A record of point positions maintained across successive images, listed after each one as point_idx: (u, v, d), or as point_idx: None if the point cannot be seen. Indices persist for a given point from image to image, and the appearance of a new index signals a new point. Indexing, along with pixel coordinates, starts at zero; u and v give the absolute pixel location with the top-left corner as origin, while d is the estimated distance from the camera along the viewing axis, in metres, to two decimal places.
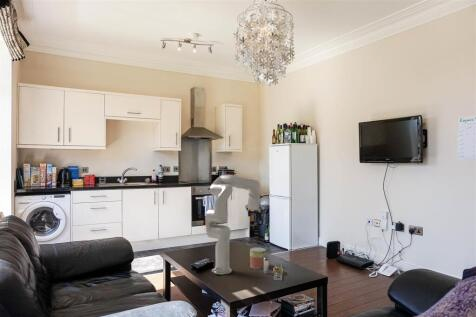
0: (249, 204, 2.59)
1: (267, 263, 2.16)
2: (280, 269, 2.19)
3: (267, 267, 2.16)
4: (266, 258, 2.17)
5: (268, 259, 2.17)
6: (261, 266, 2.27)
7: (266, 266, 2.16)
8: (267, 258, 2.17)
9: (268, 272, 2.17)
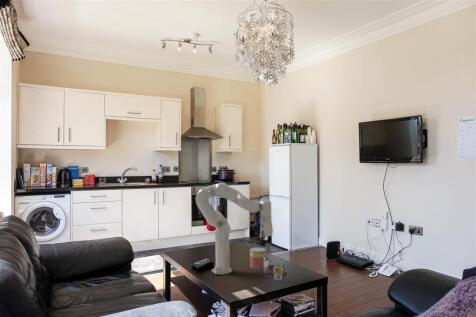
0: (267, 230, 2.14)
1: (267, 263, 2.16)
2: (280, 269, 2.19)
3: (267, 267, 2.16)
4: (266, 258, 2.17)
5: (268, 259, 2.17)
6: (261, 266, 2.27)
7: (266, 266, 2.16)
8: (267, 258, 2.17)
9: (268, 272, 2.17)
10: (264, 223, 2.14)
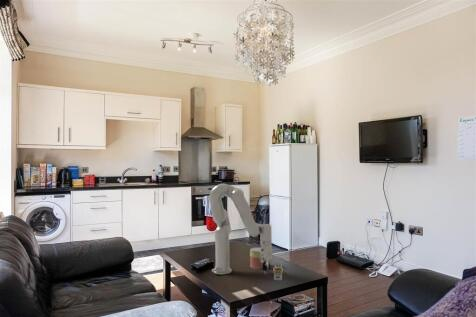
0: (267, 254, 2.13)
1: (267, 263, 2.16)
2: (280, 269, 2.19)
3: (267, 267, 2.16)
4: None
5: None
6: (261, 266, 2.27)
7: None
8: None
9: (268, 272, 2.17)
10: (264, 247, 2.13)
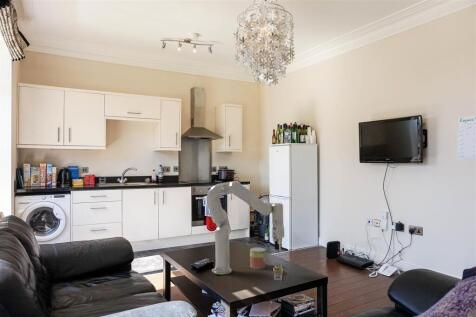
0: (279, 233, 2.13)
1: (279, 242, 2.16)
2: (280, 269, 2.19)
3: (279, 246, 2.16)
4: None
5: None
6: (261, 266, 2.27)
7: None
8: None
9: (280, 251, 2.17)
10: (276, 226, 2.13)
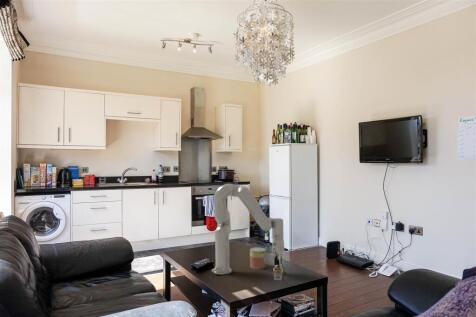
0: (279, 248, 2.13)
1: (279, 257, 2.16)
2: (280, 269, 2.19)
3: (279, 261, 2.16)
4: None
5: None
6: (261, 266, 2.27)
7: None
8: None
9: (280, 266, 2.17)
10: (276, 241, 2.13)
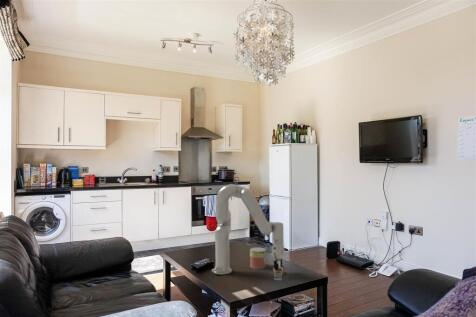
0: (279, 252, 2.13)
1: (279, 263, 2.16)
2: (280, 269, 2.19)
3: (279, 267, 2.16)
4: None
5: (280, 259, 2.16)
6: (261, 266, 2.27)
7: None
8: None
9: None
10: (276, 245, 2.13)
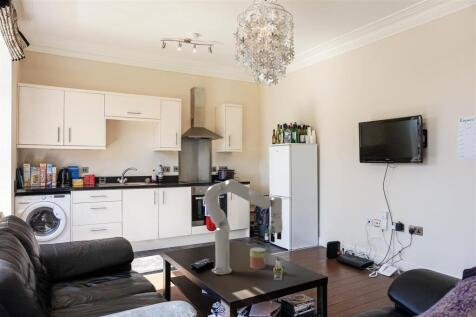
0: (277, 226, 2.15)
1: (279, 263, 2.16)
2: (280, 269, 2.19)
3: (279, 267, 2.16)
4: (278, 258, 2.16)
5: (280, 259, 2.16)
6: (261, 266, 2.27)
7: (278, 266, 2.15)
8: (279, 258, 2.16)
9: None
10: (274, 219, 2.15)
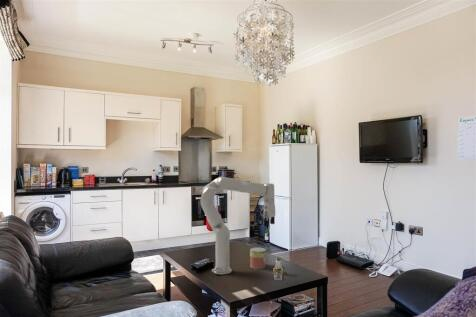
0: (270, 211, 2.25)
1: (279, 263, 2.16)
2: (280, 269, 2.19)
3: (279, 267, 2.16)
4: (278, 258, 2.16)
5: (280, 259, 2.16)
6: (261, 266, 2.27)
7: (278, 266, 2.15)
8: (279, 258, 2.16)
9: None
10: (267, 204, 2.25)
